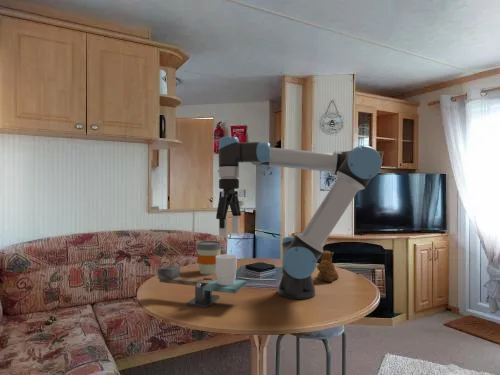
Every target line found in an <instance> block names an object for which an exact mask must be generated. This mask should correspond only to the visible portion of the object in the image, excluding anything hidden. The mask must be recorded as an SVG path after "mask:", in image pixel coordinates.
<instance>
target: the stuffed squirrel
mask: <svg viewBox="0 0 500 375" xmlns="http://www.w3.org/2000/svg"><path fill="white" fill-rule="evenodd" d="M333 255H334V252H332V251H329V250H323V253H322V255H321V256H320V259H321V260H320V262H318V264H316V270H318V271H319V272H318V273H317V279H319V280H322V281H324V282H331V283H332V282H333V281H335V280H338V279H339V276H340V275H339V273H338V271H337V270H336V266H335V264H334V263H333V262H332V261H333Z"/></svg>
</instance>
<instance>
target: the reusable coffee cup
mask: <svg viewBox="0 0 500 375" xmlns="http://www.w3.org/2000/svg"><path fill="white" fill-rule="evenodd" d="M196 243H197V244H196V250H197V253H196V257H197V263H198V265H199V274H202V275H217V274H216V256H217V255H222V253H221V249H222V242H221V241H218V240H217V241H215V240H203V241H198V242H196Z"/></svg>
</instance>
